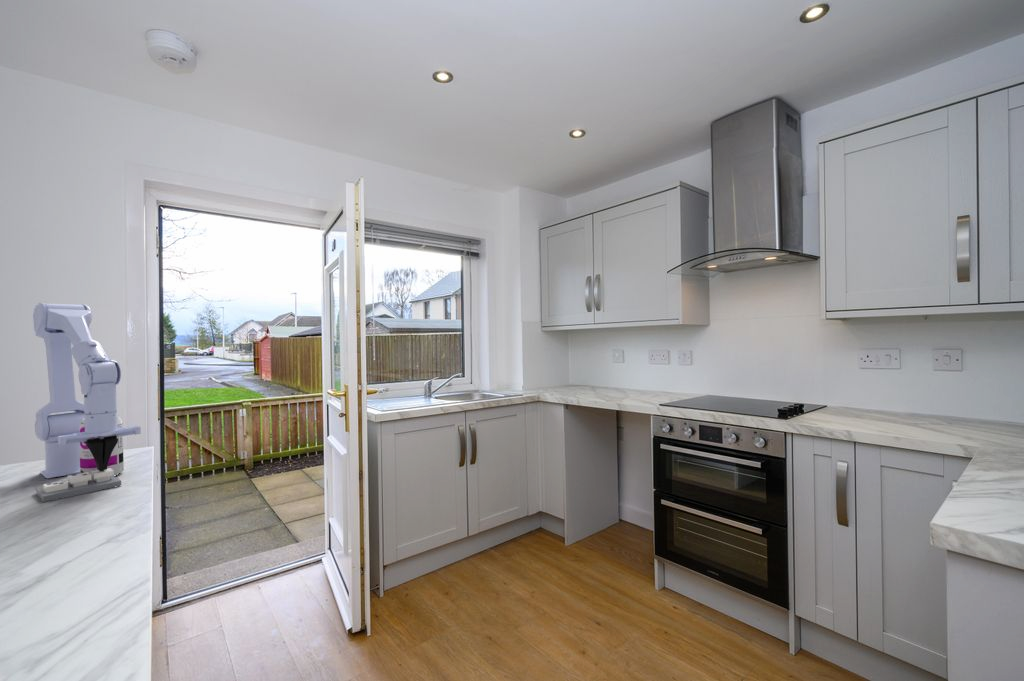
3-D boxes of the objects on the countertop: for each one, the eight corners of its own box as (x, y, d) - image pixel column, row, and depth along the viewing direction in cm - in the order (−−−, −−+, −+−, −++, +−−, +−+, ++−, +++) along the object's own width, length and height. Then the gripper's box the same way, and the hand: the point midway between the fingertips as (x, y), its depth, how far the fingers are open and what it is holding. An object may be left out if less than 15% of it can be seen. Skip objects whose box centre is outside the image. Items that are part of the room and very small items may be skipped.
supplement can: (103, 481, 112) (102, 420, 112) (70, 481, 113) (69, 420, 112) (132, 471, 121) (130, 414, 120) (101, 471, 121) (99, 414, 121)
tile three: (43, 495, 103) (42, 483, 103) (64, 490, 105) (64, 479, 105) (46, 498, 101) (45, 486, 101) (68, 493, 103) (67, 482, 103)
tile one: (90, 481, 109) (90, 470, 109) (109, 477, 112) (109, 467, 112) (94, 484, 107) (94, 473, 107) (113, 480, 110) (113, 469, 110)
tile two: (67, 485, 106) (67, 475, 106) (87, 482, 109) (87, 471, 109) (70, 488, 104) (70, 477, 104) (91, 484, 107) (91, 473, 107)
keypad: (36, 493, 104) (36, 488, 104) (110, 478, 114) (110, 474, 114) (43, 502, 98) (43, 496, 98) (121, 485, 109) (121, 480, 109)
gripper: (62, 418, 101) (63, 480, 101) (143, 409, 113) (145, 464, 113) (55, 415, 105) (57, 474, 105) (135, 407, 117) (136, 460, 117)
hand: (102, 469), depth 109 cm, fingers closed
